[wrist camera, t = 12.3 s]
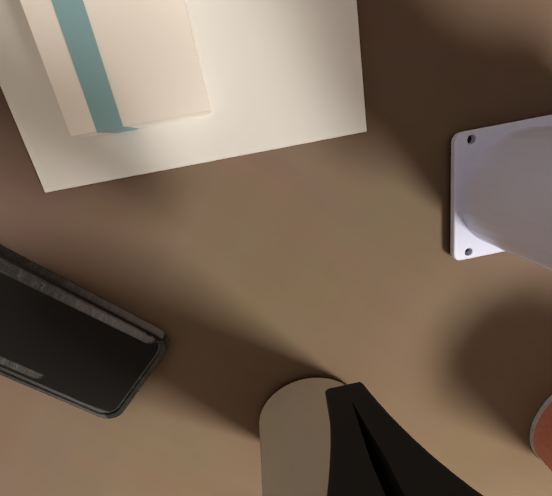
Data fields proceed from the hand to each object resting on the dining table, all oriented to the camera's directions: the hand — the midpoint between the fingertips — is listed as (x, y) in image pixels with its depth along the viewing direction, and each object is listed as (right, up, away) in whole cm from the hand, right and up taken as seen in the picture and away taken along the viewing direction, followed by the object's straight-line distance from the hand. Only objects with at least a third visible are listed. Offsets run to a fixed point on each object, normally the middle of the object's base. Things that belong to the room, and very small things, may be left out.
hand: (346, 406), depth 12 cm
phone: (-18, +1, +9) cm, 20 cm away
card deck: (-7, +17, +3) cm, 18 cm away
